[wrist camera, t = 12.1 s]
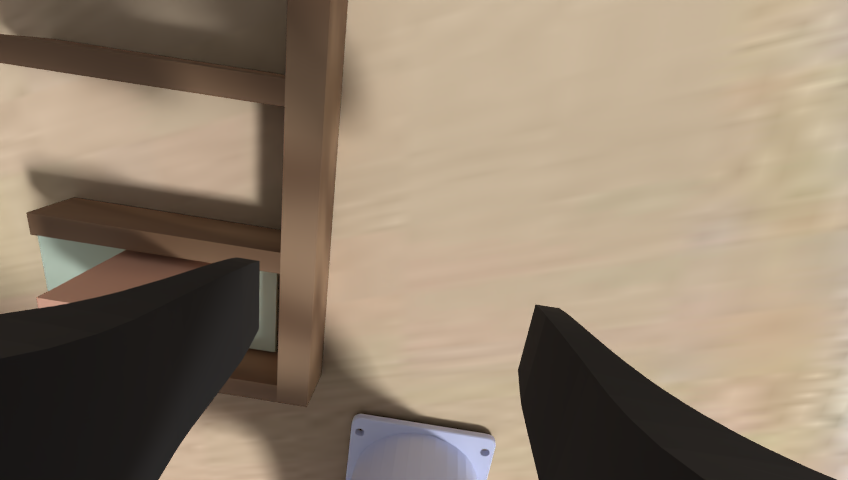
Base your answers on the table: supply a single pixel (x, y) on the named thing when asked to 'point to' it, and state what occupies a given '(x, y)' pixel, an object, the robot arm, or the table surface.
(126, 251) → the terracotta block
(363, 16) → the table surface
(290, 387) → the notched rack
